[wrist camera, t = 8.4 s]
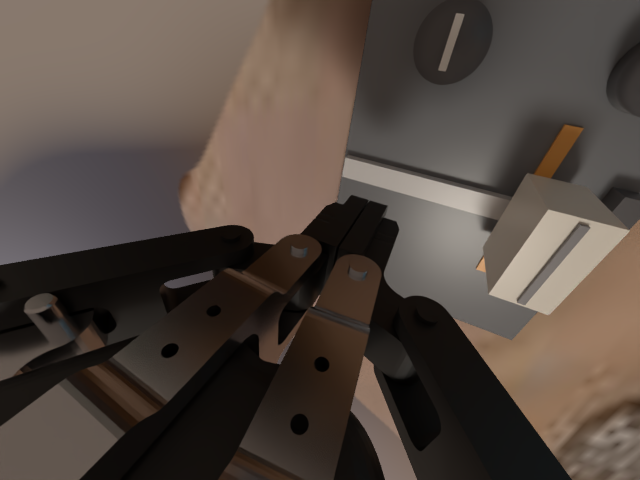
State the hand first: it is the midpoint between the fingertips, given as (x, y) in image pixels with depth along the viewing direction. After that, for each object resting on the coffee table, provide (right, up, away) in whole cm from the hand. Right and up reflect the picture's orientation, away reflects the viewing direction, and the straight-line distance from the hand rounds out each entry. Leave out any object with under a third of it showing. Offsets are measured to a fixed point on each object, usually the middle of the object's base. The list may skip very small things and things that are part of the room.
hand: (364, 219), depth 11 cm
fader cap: (+9, 0, +3) cm, 9 cm away
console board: (+7, +3, +6) cm, 9 cm away
